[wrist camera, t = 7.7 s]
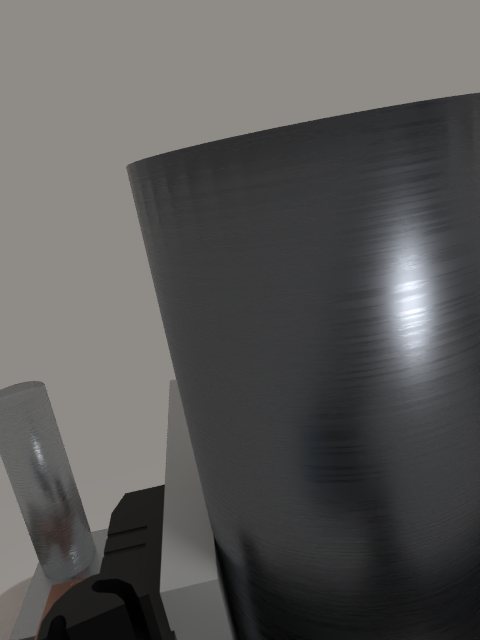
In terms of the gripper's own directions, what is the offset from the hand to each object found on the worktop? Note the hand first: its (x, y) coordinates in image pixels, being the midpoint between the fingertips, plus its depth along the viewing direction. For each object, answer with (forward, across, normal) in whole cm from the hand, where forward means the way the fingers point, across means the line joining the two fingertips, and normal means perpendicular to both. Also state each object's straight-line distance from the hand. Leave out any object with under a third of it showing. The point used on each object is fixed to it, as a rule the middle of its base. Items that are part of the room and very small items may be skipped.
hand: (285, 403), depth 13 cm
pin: (-5, 0, -10) cm, 11 cm away
